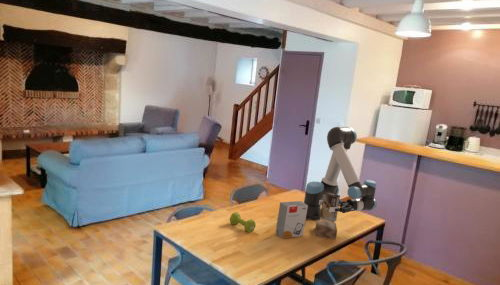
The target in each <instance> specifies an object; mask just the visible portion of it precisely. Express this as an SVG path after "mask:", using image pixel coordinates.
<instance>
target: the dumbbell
mask: <svg viewBox="0 0 500 285" xmlns="http://www.w3.org/2000/svg"><path fill="white" fill-rule="evenodd" d="M229 222H230V224H231V225H233V226H234V225H238V224H239V225H242V226H243V227H244V231H245V232H246V233H251V232H253V231H254V230H255V227H256V221H255V220H254V219H251V218H250V219H248V220H245V219H242V217H241V214H240V213H239V212H233V213H231V215H230V217H229Z"/></svg>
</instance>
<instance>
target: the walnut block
mask: <svg viewBox="0 0 500 285" xmlns="http://www.w3.org/2000/svg"><path fill="white" fill-rule="evenodd" d="M337 233H338V228H337V222H334V223H333V222H330V221H326V220H322V219H318V220H316V223H315V237H318V238H319V237H320V238H324V239H325V238H326V239H330V240H335V241H336V239H337V235H338V234H337Z"/></svg>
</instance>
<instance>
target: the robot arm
mask: <svg viewBox="0 0 500 285" xmlns="http://www.w3.org/2000/svg"><path fill="white" fill-rule="evenodd" d="M357 134H358V133H357V132H356V130H355V129H354V128H353V127H351V126H335V127H332V128H330V130H329V131H328V132H327V136H326V139H327V140H326V141H327V145H328V148H329V150H330V151H332V152H331V153H332V154H331V157H330V160H329V163H328V166H327V168H326V172H325V175H324V177H322V178H321V181H313V180H312V181H309V182H307V184H306V186H305V193H304V200H303V203H305V204H307V205H308V208H307V214H306V220H307V219H308V220H312V221H313V220H314V221H317V220H321V219H320V214H321V207H322V200H323V194H324V193H325V192H329V193H333V194H336V195H339V192H340V189H339V182H338V178H339V175H340V173H342V175H343V178H344V180H345V183H346V185H347V187H348V189H347V195H348V197H349V198H348V199H346V200H342V199H339V206H338V207H330V209H329V212H337V213H339V212H340V213H342V214H346V213H349V212H359V211H373V210H376V209H377V206H378V204H377V200H376V199H375V195H376V190H377V182H376V181H374V180H371V179H365V180H364V182H363V184H361V182H360V180H359V178H358V175H357V173H356V170H355V168H354V166H353V164H352V161H351V159H350V156H348V155H349V154H348V153H347V151H348V150H350V149H351V146H352V145H353V144H354V143H355V142H356V141H357V138H358V136H357Z"/></svg>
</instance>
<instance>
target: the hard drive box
mask: <svg viewBox="0 0 500 285" xmlns="http://www.w3.org/2000/svg"><path fill="white" fill-rule="evenodd" d="M307 208H308V205H307V204H305V203H304V201H302V200H295V201H294V200H293V201H281V202H279V208H278V215H277V220H276V228H275V234H276V235H277V236H278V237H280V239H289V238H294V237H295V238H296V237H303V235H304V230H305V225H306V220H307V218H306V214H307Z"/></svg>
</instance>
